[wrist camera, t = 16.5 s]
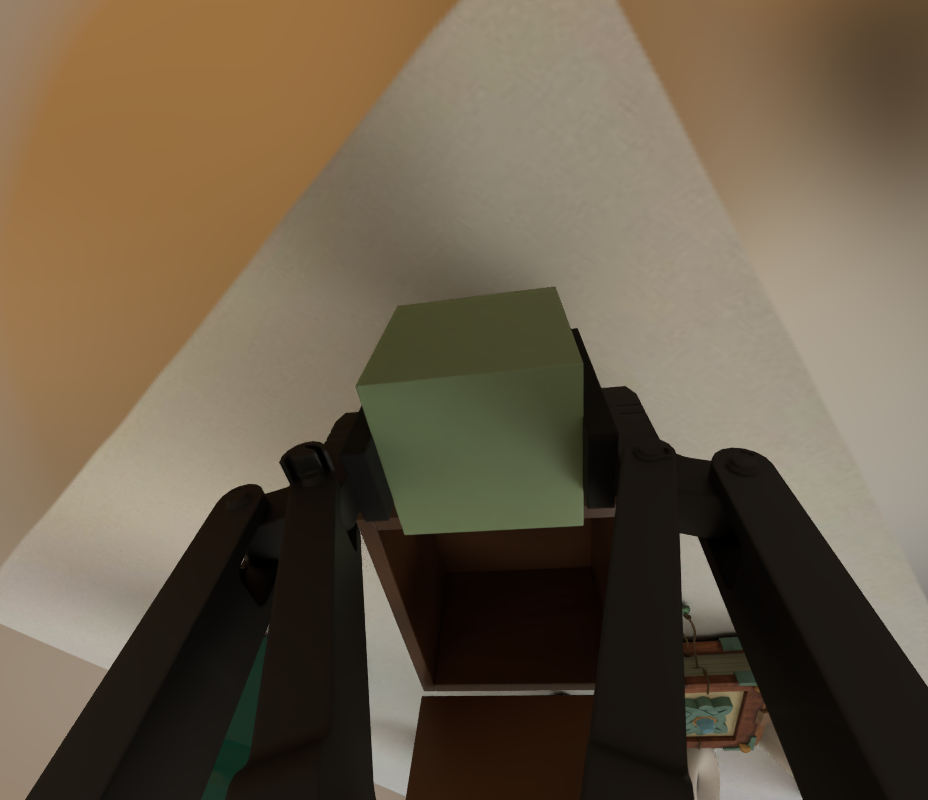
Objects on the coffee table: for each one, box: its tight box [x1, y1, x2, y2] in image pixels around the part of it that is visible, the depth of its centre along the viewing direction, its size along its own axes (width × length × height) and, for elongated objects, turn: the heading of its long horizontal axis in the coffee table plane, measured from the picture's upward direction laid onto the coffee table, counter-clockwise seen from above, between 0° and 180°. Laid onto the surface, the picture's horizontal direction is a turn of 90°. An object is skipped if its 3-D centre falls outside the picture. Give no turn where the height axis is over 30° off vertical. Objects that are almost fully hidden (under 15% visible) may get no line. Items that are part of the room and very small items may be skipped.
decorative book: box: [682, 606, 771, 753], centre depth 37 cm, size 13×18×5 cm
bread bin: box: [357, 496, 617, 691], centre depth 26 cm, size 16×13×9 cm
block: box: [356, 287, 584, 535], centre depth 15 cm, size 6×6×6 cm
